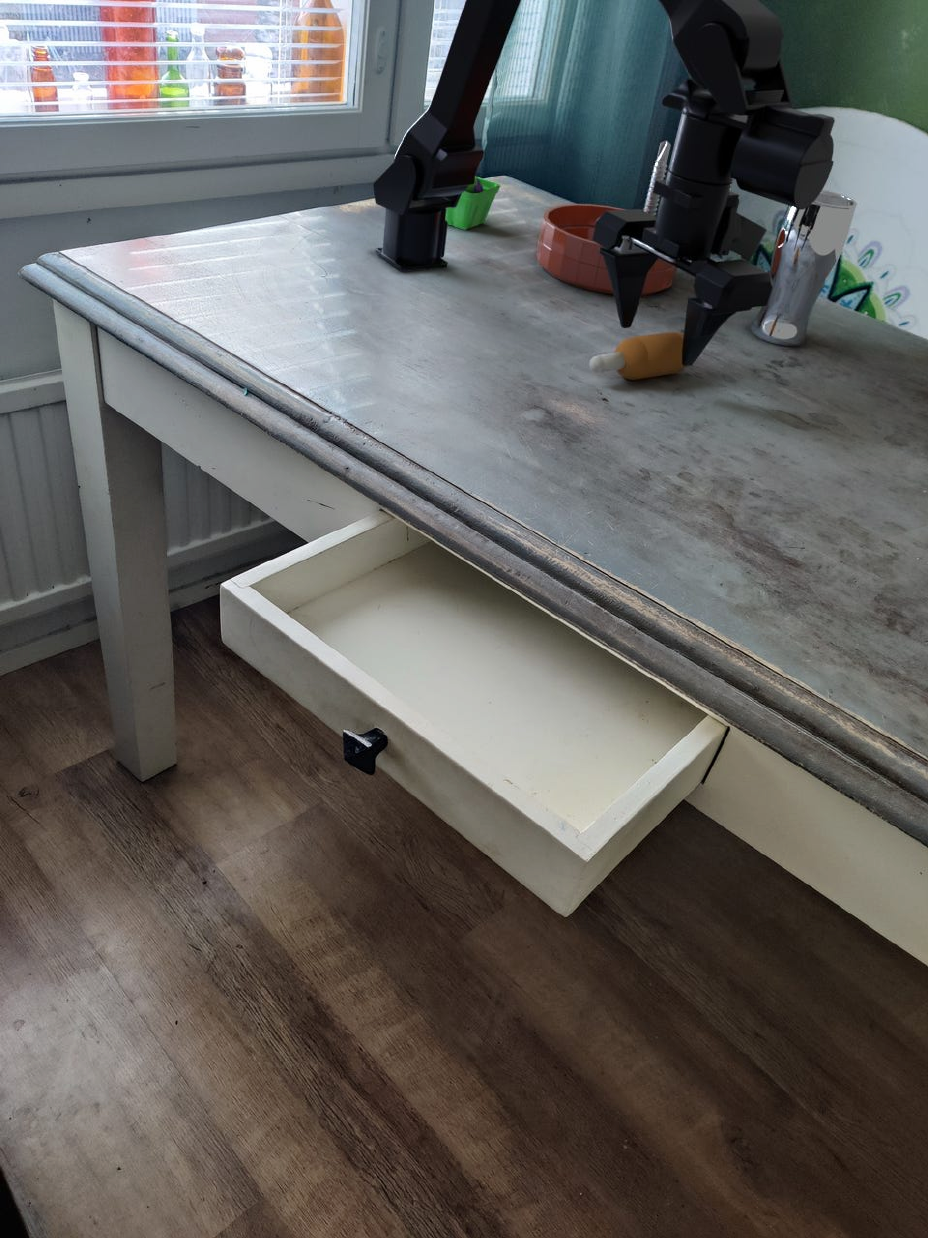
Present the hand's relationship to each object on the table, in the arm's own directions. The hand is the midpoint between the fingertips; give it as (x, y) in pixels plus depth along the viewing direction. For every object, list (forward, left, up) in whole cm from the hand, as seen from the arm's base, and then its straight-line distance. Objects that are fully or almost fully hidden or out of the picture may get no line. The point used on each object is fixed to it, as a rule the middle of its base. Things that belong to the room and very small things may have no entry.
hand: (655, 345), depth 93 cm
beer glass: (+23, +4, -3) cm, 24 cm away
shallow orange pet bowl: (+15, +26, -3) cm, 30 cm away
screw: (+28, +34, -3) cm, 44 cm away
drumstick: (-2, 0, -3) cm, 3 cm away
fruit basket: (+5, +48, -3) cm, 48 cm away
